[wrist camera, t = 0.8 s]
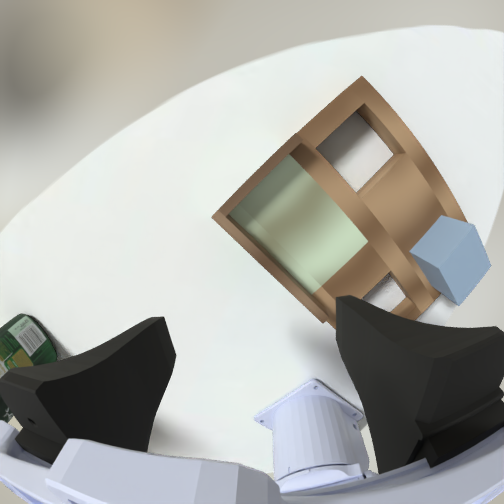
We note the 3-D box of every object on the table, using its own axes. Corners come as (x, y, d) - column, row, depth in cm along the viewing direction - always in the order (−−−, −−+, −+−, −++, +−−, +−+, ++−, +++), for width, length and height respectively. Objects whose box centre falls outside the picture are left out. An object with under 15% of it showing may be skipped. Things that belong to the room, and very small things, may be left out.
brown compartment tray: (466, 242, 19) (489, 252, 16) (361, 348, 22) (374, 372, 19) (352, 84, 16) (369, 68, 13) (219, 210, 19) (211, 217, 16)
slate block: (460, 251, 17) (491, 266, 14) (431, 285, 18) (458, 306, 14) (441, 215, 17) (474, 224, 13) (409, 251, 18) (438, 268, 14)
